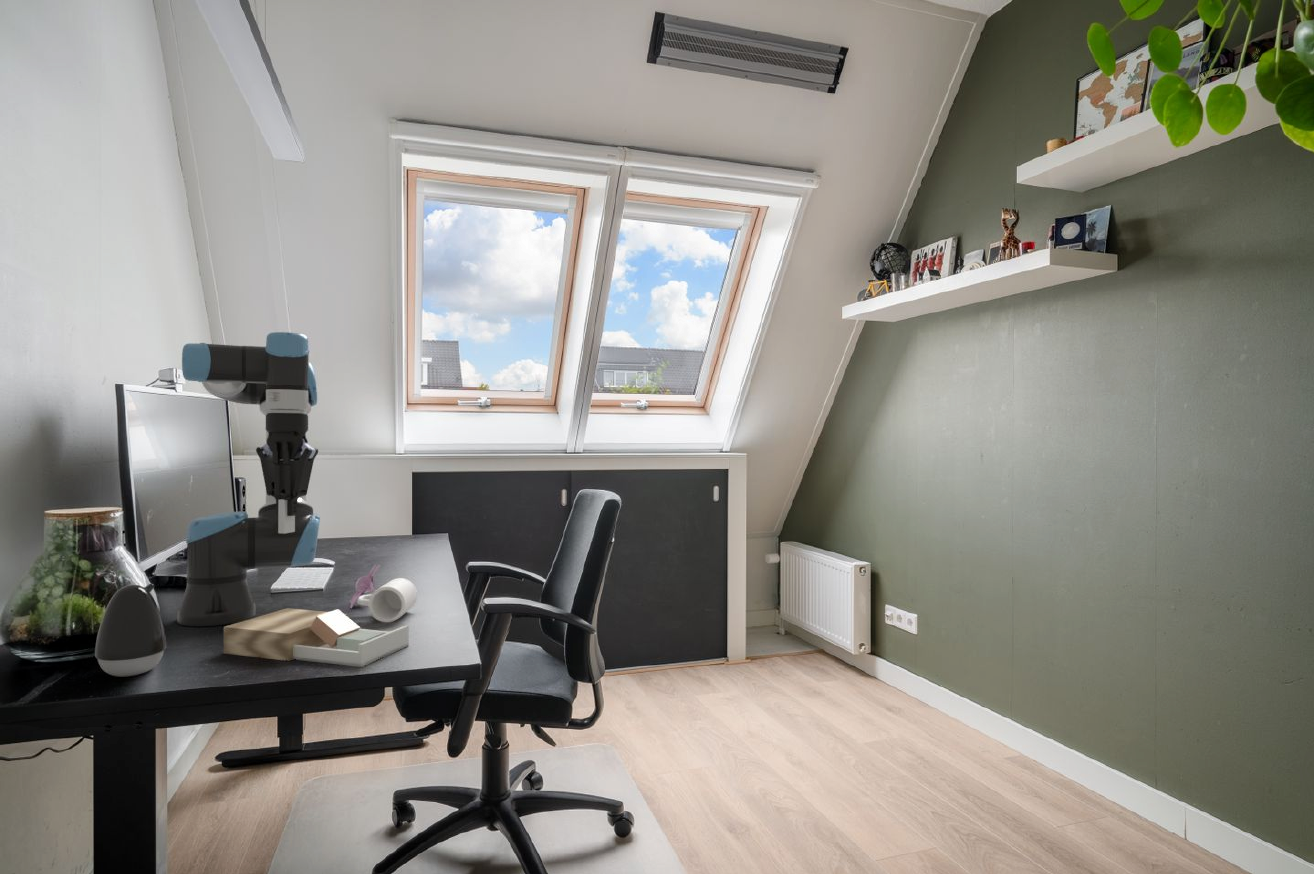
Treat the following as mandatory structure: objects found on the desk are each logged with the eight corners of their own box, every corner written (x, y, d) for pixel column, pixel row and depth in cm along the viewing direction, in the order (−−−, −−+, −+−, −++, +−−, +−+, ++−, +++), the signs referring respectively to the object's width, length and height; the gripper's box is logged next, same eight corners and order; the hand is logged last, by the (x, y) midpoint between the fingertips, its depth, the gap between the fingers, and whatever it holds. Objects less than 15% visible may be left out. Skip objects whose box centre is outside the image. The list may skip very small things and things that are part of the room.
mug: (417, 612, 178) (417, 577, 178) (404, 622, 169) (404, 586, 168) (365, 612, 178) (365, 577, 178) (349, 622, 168) (349, 586, 168)
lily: (361, 601, 193) (342, 570, 190) (404, 583, 193) (386, 552, 190) (349, 627, 182) (328, 595, 179) (394, 609, 182) (375, 576, 179)
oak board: (223, 653, 144) (223, 626, 144) (286, 632, 160) (287, 608, 160) (288, 660, 140) (288, 633, 140) (347, 638, 155) (347, 613, 155)
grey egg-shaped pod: (180, 663, 138) (180, 579, 138) (139, 682, 128) (140, 591, 128) (124, 662, 138) (124, 578, 138) (79, 681, 128) (80, 590, 128)
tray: (292, 659, 141) (293, 637, 141) (344, 639, 154) (344, 619, 154) (361, 667, 137) (362, 644, 137) (408, 646, 150) (408, 625, 150)
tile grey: (364, 640, 141) (364, 656, 141) (384, 632, 147) (384, 647, 147) (336, 637, 143) (336, 653, 143) (358, 629, 149) (358, 645, 149)
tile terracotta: (309, 628, 145) (316, 615, 145) (331, 621, 151) (338, 609, 150) (331, 647, 144) (338, 634, 143) (353, 639, 149) (360, 627, 149)
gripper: (245, 411, 148) (244, 533, 148) (300, 411, 144) (300, 536, 145) (274, 412, 155) (274, 528, 155) (328, 412, 151) (327, 531, 152)
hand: (286, 532), depth 150 cm, fingers closed
